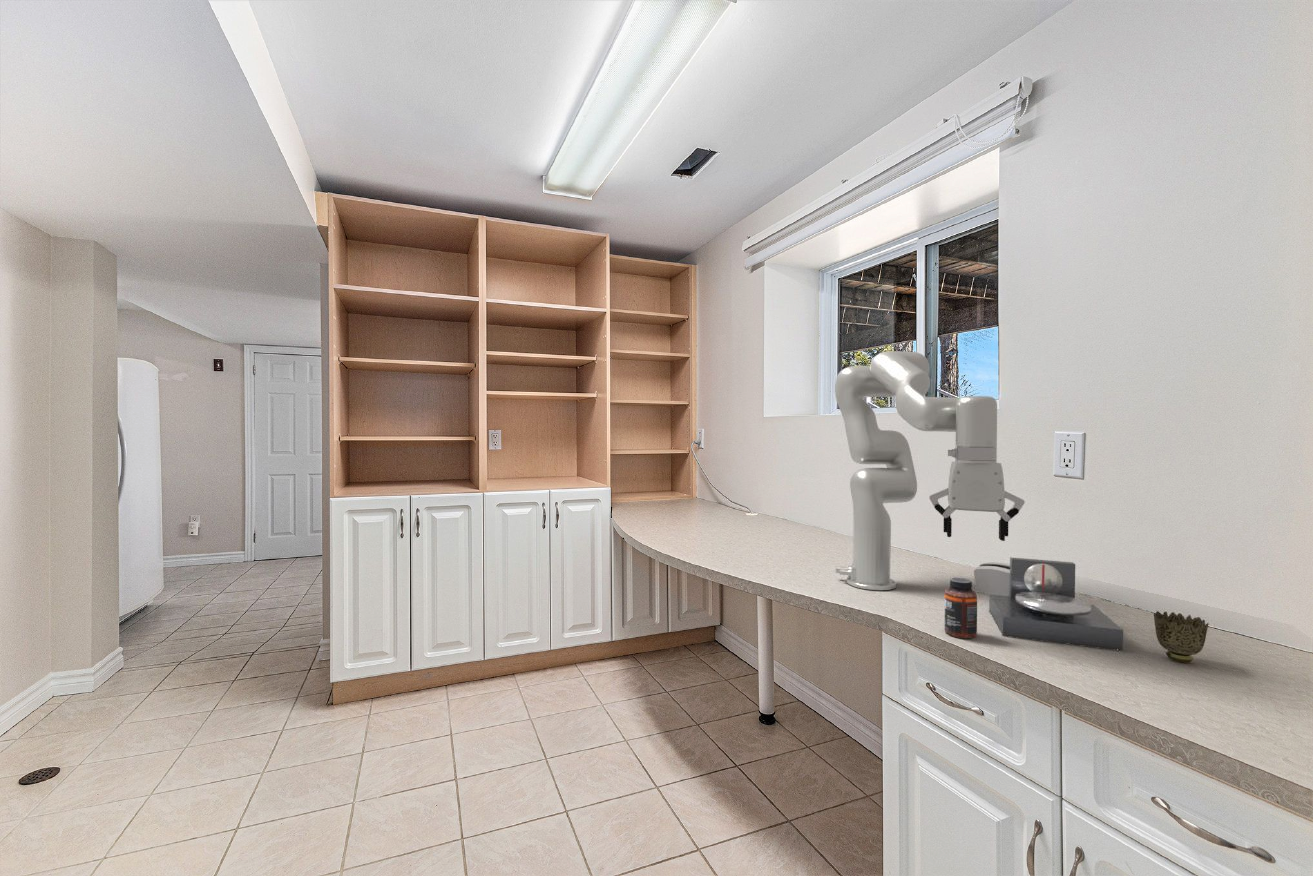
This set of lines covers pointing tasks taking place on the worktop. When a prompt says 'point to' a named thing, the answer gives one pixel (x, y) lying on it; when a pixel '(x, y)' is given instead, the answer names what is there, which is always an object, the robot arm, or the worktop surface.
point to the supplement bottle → (961, 609)
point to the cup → (1180, 635)
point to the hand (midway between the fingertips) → (975, 538)
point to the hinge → (992, 578)
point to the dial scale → (1051, 607)
